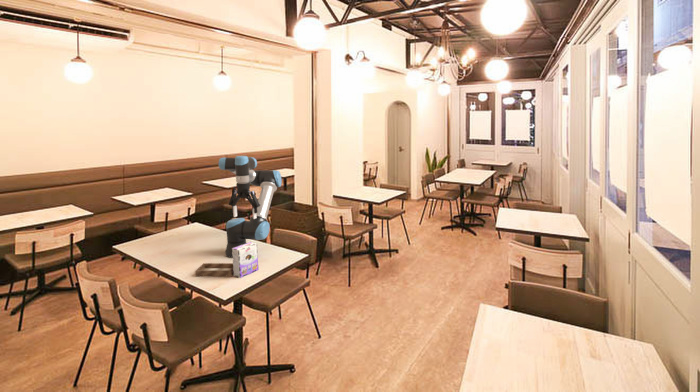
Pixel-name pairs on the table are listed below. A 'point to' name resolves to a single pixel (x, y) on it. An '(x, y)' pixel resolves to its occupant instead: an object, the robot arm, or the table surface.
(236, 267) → the candy box
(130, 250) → the table surface
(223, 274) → the wooden picture frame
